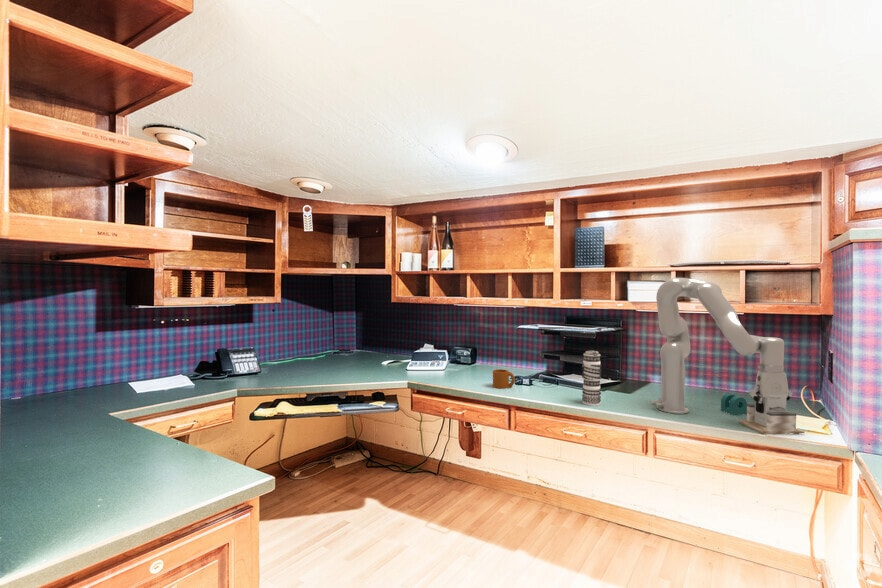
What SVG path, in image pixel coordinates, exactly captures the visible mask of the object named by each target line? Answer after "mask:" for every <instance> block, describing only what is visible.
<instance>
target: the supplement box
mask: <svg viewBox="0 0 882 588" xmlns="http://www.w3.org/2000/svg"><path fill="white" fill-rule="evenodd" d="M755 395H756V393H755ZM756 396H757V395H756ZM760 398H761V397H760ZM760 398H759V399H760ZM762 403H763V413H759V412H757V411H756V402H755V401H754V404H755V422H756V423H758V424H761V425H763V426H765V427H767V412H787V403H786V396H772V395H768V398H765V399H764V400H763V402H762Z"/></svg>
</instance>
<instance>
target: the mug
mask: <svg viewBox="0 0 882 588" xmlns="http://www.w3.org/2000/svg"><path fill="white" fill-rule="evenodd" d="M509 377H510V378H511V382H510V378H509ZM515 381H516V378H515V375H514V373H513V372H511V371H509V370H507V369H492V388H494V389H499V390H500V389H501V390H503V389H505V390H506V389H508V388H512V386H514V385H515V383H516V382H515Z"/></svg>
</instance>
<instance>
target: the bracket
mask: <svg viewBox="0 0 882 588" xmlns="http://www.w3.org/2000/svg"><path fill="white" fill-rule="evenodd" d="M747 404H748V403H747V400H746V399H745V398H744V397H741V396H738V395H735V394H732V393H725V394H724V395H722V397H721V399H720V411H721V410H722V411H721V412H723V411H725V412H724V413H726V412H727V413H726V414H728V413H730V414H729V415H731V414H733V415H732V416H735V415H734V414H747Z"/></svg>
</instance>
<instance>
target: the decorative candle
mask: <svg viewBox="0 0 882 588" xmlns="http://www.w3.org/2000/svg"><path fill="white" fill-rule="evenodd" d="M582 355H583V359H582V360H583V361H582V364H581V367H582V368H581V370H582V372H581V374H582V376H581V377H582V379H583V384H582V388H581V389H582V391H581V392H582V395H581V400H582V402H581V403H582V404H584V405H588V406H600V405H601V403H602V396H601V395H602V392H601V391H602V389H601V380H602V377H601V375H602V374H603V373H602V369H601V368H602V367H603V365H602V362H601V354H600V353H599V351H597V350H585V352H584V353H583V354H582Z"/></svg>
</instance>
